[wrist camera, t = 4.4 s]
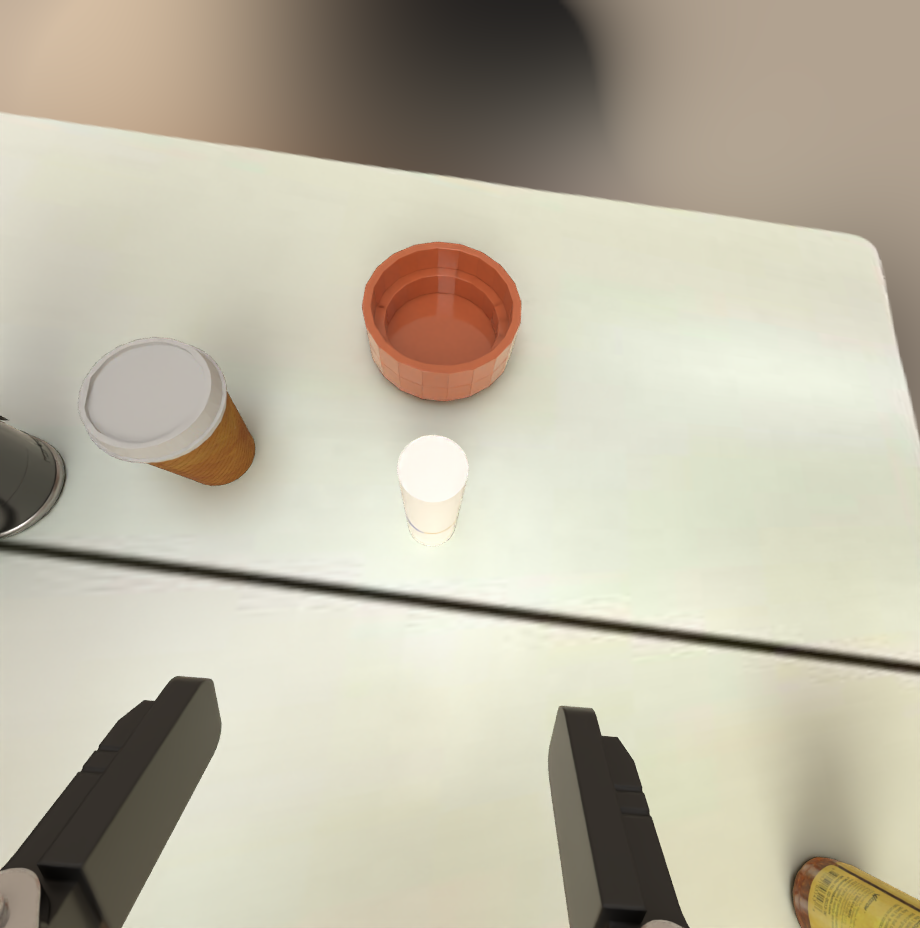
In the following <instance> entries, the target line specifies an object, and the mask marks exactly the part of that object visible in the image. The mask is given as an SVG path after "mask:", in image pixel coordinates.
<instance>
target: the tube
mask: <svg viewBox="0 0 920 928" xmlns="http://www.w3.org/2000/svg"><path fill="white" fill-rule="evenodd" d="M468 471H469V467H468V461H467V457H466V455H465V453H464V451H463V450H462V449H461V447H460V446H459V445H458V444H456V443H455V442H454V441H452V440H451V439H449V438H446V437H443V436H439V435H427V436H422V437H420V438H417V439H415V440H413V441H412V442H411V443H409V444H408V445H407V446H406V447H405V448H404V450H403V451H402V453H401V454H400V457H399V460H398V465H397V473H398V478H399V483H400V488H401V493H402V498H403V503H404V508H405V513H406V517H407V522H408V527H409V531H410V533H411V535H412V536H413V538H414V539H415V540H416V541H417V542H419V543H421V544H423V545H426V546H437V545H440V544H443V543H445V542H446V541H447V540H448V539H449V538H450V537H451V536H452V534H453V532H454V529H455V526H456V522H457V518H458V514H459V510H460V506H461V502H462V498H463V494H464V490H465V486H466V481H467V477H468Z"/></svg>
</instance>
